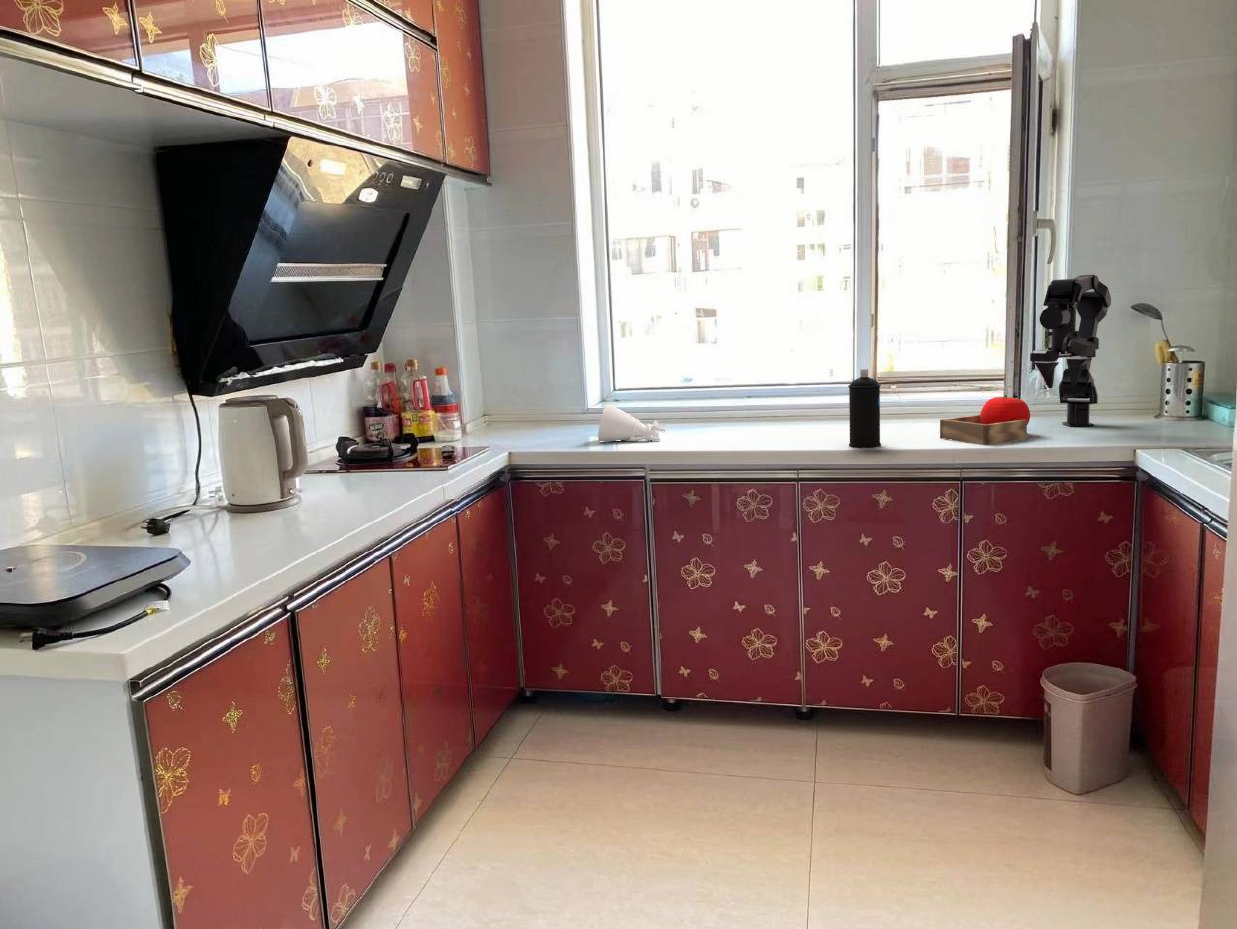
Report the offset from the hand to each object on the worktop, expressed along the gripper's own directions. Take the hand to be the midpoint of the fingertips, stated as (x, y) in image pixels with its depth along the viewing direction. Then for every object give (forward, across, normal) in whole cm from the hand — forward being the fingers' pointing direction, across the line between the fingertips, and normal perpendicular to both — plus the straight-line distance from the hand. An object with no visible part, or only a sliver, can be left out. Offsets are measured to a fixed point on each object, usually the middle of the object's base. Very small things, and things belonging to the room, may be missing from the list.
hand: (1062, 386), depth 256 cm
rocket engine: (+13, -93, +72) cm, 118 cm away
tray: (+12, -22, +6) cm, 26 cm away
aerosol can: (+12, -51, +19) cm, 56 cm away
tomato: (+12, -14, +6) cm, 20 cm away
